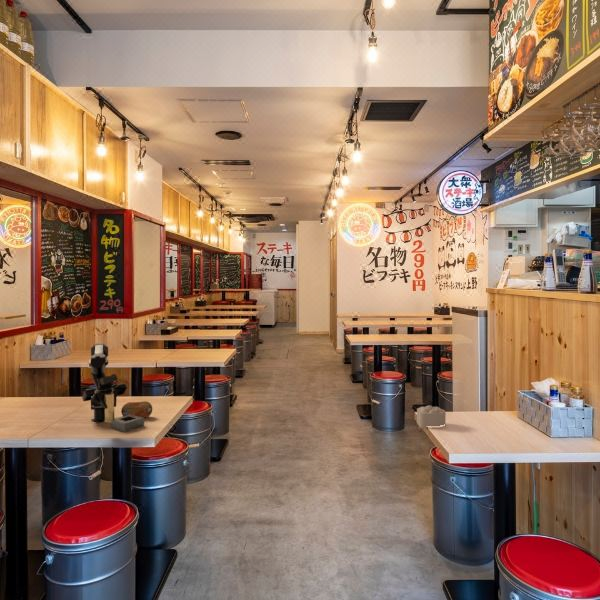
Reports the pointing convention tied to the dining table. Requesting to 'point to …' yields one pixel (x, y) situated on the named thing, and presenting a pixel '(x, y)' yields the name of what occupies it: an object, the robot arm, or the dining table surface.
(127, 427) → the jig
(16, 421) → the dining table surface
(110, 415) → the bushing
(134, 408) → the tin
